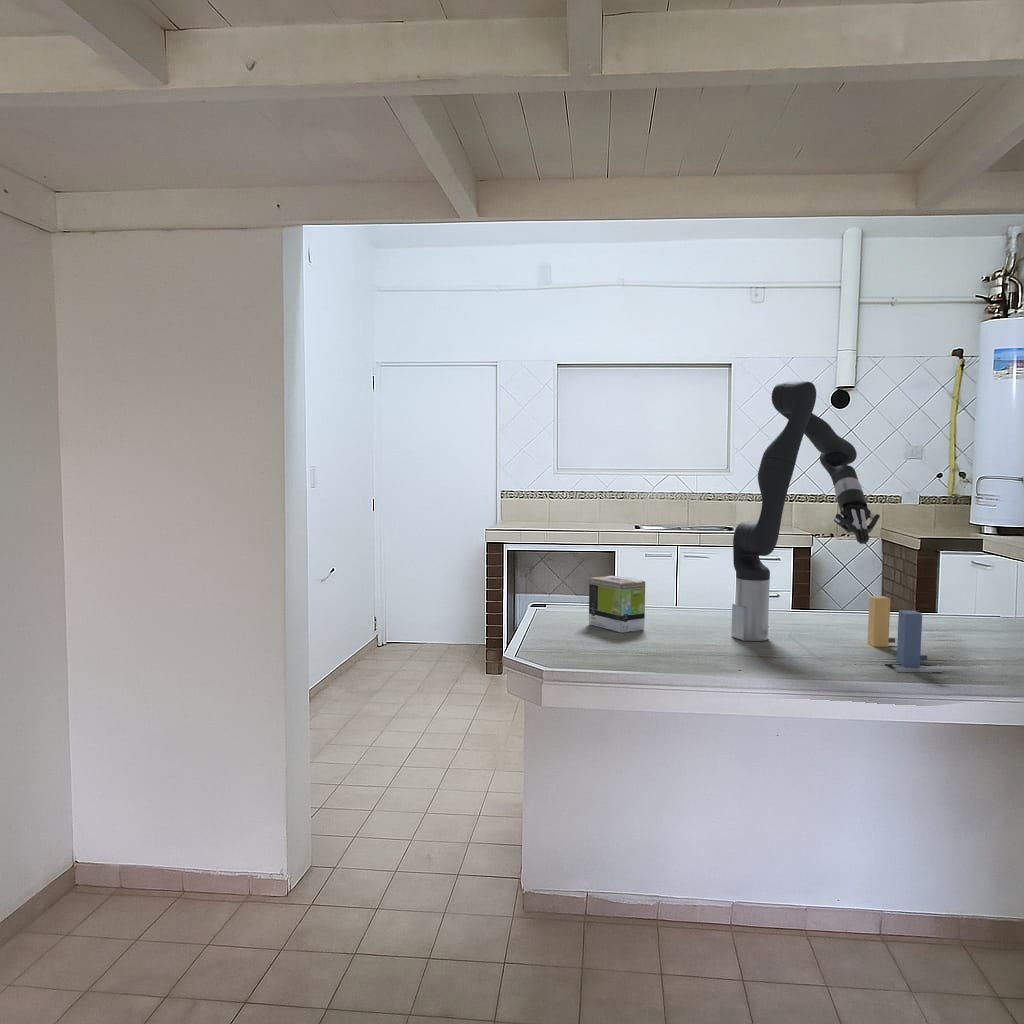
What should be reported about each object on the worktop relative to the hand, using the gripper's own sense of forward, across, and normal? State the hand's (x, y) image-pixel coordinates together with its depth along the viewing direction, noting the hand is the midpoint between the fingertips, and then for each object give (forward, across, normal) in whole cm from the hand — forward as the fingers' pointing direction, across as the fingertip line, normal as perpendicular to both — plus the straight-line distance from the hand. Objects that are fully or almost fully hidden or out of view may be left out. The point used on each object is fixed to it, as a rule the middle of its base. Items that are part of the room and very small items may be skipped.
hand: (864, 542), depth 237 cm
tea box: (+12, -68, +28) cm, 75 cm away
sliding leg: (+27, +1, +11) cm, 29 cm away
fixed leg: (+41, +1, -3) cm, 41 cm away
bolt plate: (+35, +1, +4) cm, 35 cm away
